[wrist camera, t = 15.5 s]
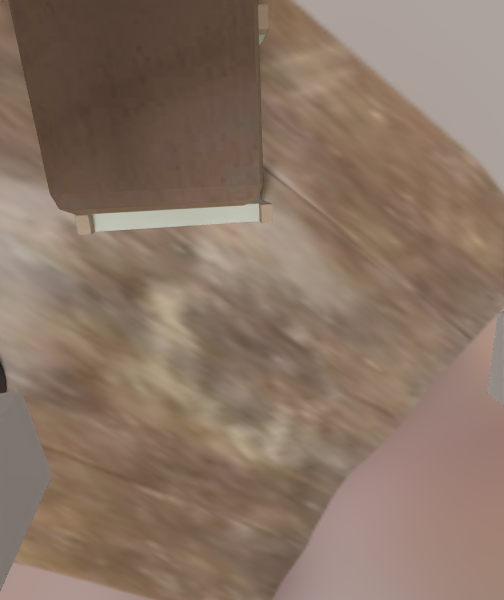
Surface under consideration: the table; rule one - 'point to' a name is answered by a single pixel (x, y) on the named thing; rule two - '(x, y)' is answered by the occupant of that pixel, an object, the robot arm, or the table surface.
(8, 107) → the table surface
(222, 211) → the pale green tray
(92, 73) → the wooden block
